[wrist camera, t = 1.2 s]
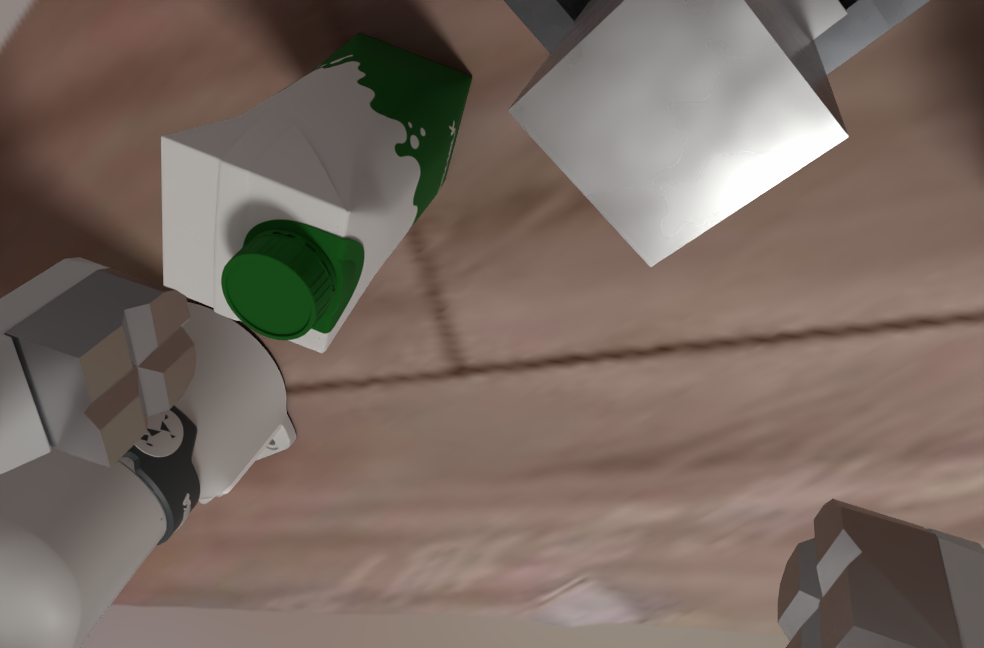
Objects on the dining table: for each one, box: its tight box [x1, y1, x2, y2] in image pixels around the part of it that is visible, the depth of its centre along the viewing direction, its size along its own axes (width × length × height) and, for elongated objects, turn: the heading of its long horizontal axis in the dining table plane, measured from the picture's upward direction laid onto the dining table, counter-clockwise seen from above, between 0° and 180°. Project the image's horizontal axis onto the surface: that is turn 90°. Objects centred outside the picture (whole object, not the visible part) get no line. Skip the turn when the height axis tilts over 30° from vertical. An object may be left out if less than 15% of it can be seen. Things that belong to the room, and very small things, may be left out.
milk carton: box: [161, 33, 472, 353], centre depth 35 cm, size 9×9×20 cm
